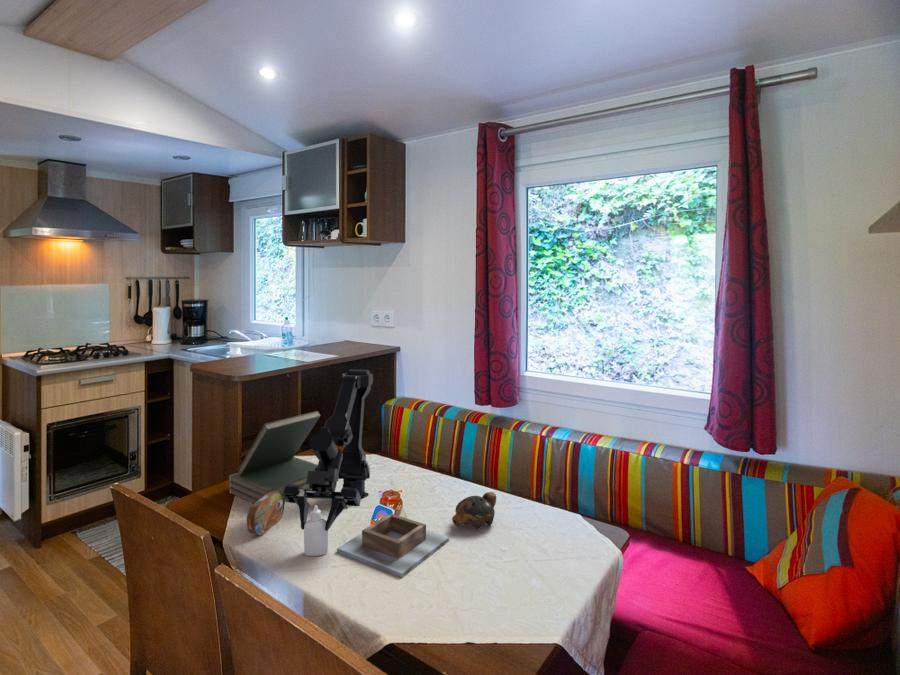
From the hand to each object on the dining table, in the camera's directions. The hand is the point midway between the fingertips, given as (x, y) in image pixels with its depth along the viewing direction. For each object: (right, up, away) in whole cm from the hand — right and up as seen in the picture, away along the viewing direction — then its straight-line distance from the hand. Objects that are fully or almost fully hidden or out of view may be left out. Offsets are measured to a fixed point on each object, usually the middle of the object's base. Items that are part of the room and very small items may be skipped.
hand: (314, 529), depth 125 cm
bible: (-21, -2, +40) cm, 45 cm away
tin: (-17, -5, +15) cm, 23 cm away
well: (+19, -6, +6) cm, 21 cm away
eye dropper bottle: (0, -7, +2) cm, 7 cm away
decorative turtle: (+40, -6, +19) cm, 44 cm away
